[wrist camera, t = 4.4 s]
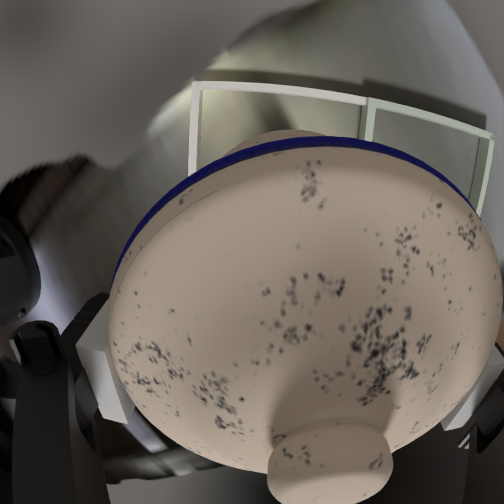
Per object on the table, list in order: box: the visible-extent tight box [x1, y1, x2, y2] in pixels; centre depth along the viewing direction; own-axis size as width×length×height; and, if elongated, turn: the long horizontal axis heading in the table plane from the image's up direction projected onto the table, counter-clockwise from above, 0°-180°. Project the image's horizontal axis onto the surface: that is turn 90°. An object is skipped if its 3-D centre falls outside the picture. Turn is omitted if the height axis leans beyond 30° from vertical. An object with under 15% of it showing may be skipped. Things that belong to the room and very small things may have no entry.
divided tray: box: [188, 81, 495, 217], centre depth 27 cm, size 29×17×2 cm, turn 86°
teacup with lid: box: [107, 130, 503, 504], centre depth 9 cm, size 12×9×12 cm
